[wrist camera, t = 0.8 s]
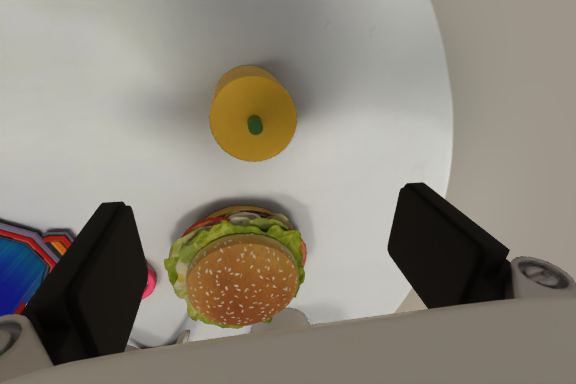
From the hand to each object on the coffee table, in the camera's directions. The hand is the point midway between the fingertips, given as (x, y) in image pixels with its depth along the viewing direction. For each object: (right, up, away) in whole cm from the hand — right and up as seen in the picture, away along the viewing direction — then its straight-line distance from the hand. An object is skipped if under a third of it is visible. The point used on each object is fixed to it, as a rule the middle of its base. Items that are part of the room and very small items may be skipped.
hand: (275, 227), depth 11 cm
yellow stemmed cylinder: (-3, +9, +16) cm, 19 cm away
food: (-5, -5, +23) cm, 25 cm away
